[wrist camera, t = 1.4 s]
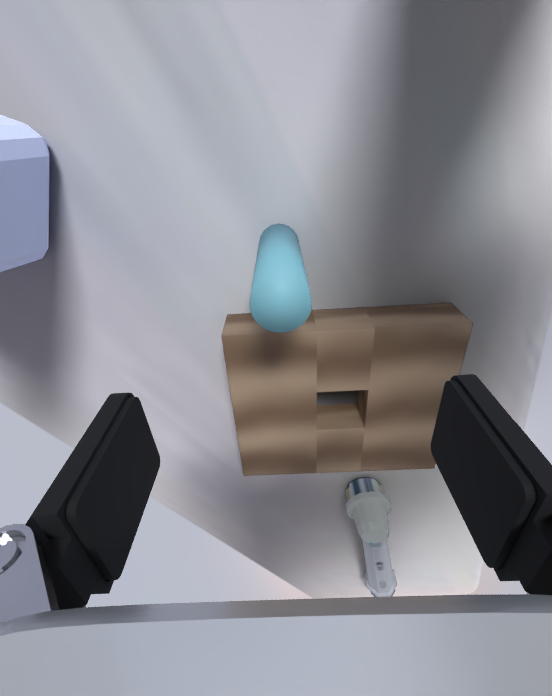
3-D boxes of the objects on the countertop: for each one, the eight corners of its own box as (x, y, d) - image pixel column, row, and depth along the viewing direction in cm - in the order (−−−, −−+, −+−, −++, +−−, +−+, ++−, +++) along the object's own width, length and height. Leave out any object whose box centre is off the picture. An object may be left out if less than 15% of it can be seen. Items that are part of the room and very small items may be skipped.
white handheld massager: (368, 605, 52) (351, 537, 37) (358, 556, 58) (340, 480, 42) (403, 601, 52) (400, 530, 36) (390, 552, 57) (383, 473, 42)
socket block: (227, 314, 31) (221, 336, 28) (450, 302, 31) (473, 323, 27) (246, 446, 40) (243, 475, 37) (420, 439, 39) (434, 468, 36)
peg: (257, 225, 27) (246, 276, 17) (298, 222, 27) (311, 273, 17) (260, 264, 29) (252, 333, 19) (299, 262, 29) (312, 331, 18)
